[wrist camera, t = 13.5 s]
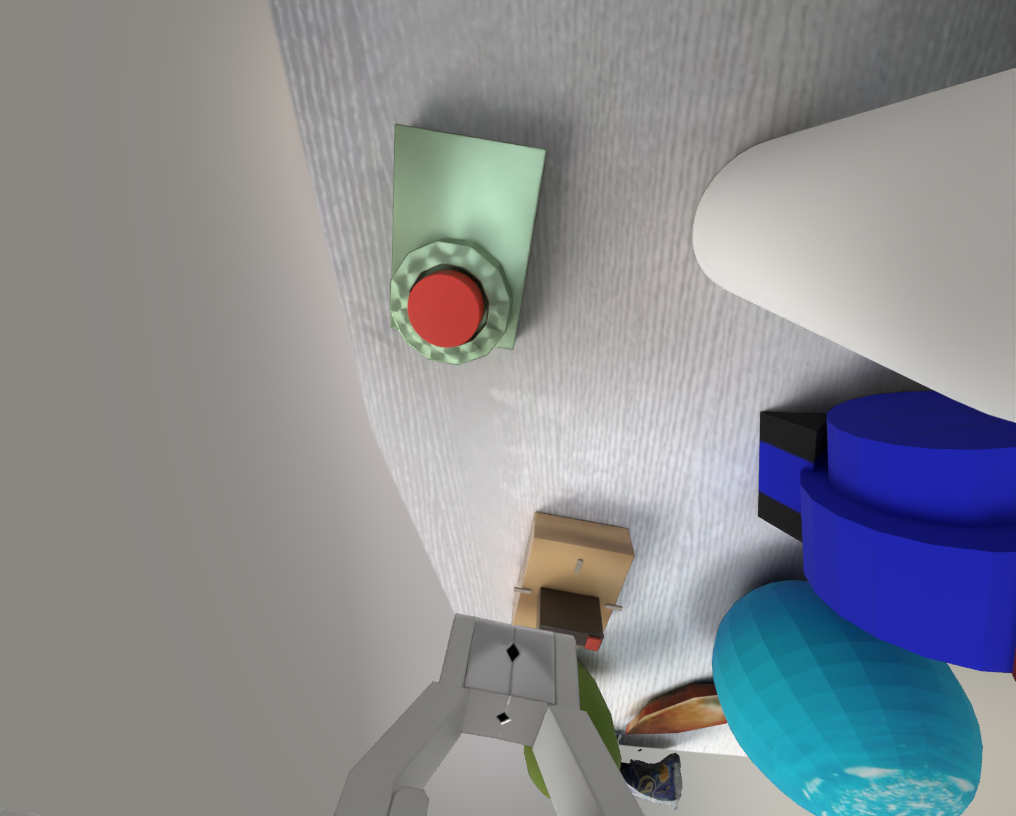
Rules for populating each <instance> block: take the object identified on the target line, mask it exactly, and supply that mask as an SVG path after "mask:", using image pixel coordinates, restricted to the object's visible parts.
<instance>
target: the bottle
mask: <svg viewBox="0 0 1016 816" xmlns="http://www.w3.org/2000/svg"><path fill="white" fill-rule="evenodd" d="M692 240H693V248H694V253H695V256H696V259H697V261H698V264H699V265H700V267H701V269H702V270H703V272H704V273H705V275H707V276H708V277H709V278H710V279H711V280H712V281H713V282H714V283H715V284H717V285H719V286H720V287H722V288H724V289H725V290H727V291H729V292H731V293H733V294H735V295H737V296H739V297H741V298H744V299H746V300H748V301H750V302H752V303H754V304H756V305H758V306H760V307H762V308H764V309H766V310H768V311H770V312H773V313H775V314H777V315H779V316H781V317H783V318H785V319H787V320H789V321H791V322H793V323H795V324H797V325H800V326H802V327H804V328H806V329H808V330H810V331H812V332H814V333H816V334H818V335H820V336H822V337H824V338H826V339H829V340H831V341H833V342H835V343H837V344H839V345H841V346H843V347H845V348H847V349H849V350H851V351H853V352H856V353H858V354H860V355H862V356H864V357H866V358H868V359H870V360H872V361H874V362H876V363H878V364H880V365H882V366H885V367H887V368H889V369H891V370H893V371H895V372H897V373H899V374H901V375H903V376H905V377H907V378H909V379H912V380H914V381H916V382H918V383H920V384H922V385H924V386H926V387H928V388H930V389H932V390H934V391H936V392H939V393H941V394H943V395H945V396H947V397H949V398H951V399H953V400H956V401H958V402H960V403H963V404H965V405H967V406H970V407H972V408H974V409H977V410H979V411H981V412H984V413H986V414H988V415H992V416H995V417H998V418H1002V419H1005V420H1008V421H1012V422H1015V423H1016V68H1013V69H1010V70H1006V71H1003V72H1000V73H996V74H993V75H989V76H986V77H983V78H979V79H976V80H972V81H969V82H965V83H962V84H959V85H955V86H952V87H948V88H945V89H942V90H938V91H935V92H931V93H928V94H925V95H921V96H918V97H914V98H911V99H908V100H904V101H901V102H897V103H894V104H891V105H887V106H884V107H880V108H877V109H874V110H870V111H867V112H863V113H860V114H856V115H853V116H850V117H846V118H843V119H839V120H836V121H833V122H829V123H826V124H822V125H819V126H816V127H812V128H809V129H805V130H802V131H799V132H795V133H792V134H788V135H785V136H782V137H778V138H775V139H772V140H769V141H766V142H764V143H761V144H758V145H755V146H753V147H751V148H750V149H748V150H746V151H744V152H743V153H741V154H739V155H738V156H737V157H735V158H734V159H733V160H732V161H730V162H729V163H728V164H727V165H726V166H724V168H723V169H722V170H721V171H720V172H719V173H718V174H717V175H716V176H715V178H714V179H713V180H712V182H711V183H710V185H709V186H708V188H707V189H706V191H705V192H704V194H703V196H702V198H701V201H700V203H699V205H698V208H697V211H696V215H695V219H694V223H693V235H692Z"/></svg>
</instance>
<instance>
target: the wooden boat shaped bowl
mask: <svg viewBox="0 0 1016 816" xmlns="http://www.w3.org/2000/svg"><path fill="white" fill-rule="evenodd" d="M725 723H727V720H726V718H725V715H724V713H723V710H722V707H721V704H720V701H719V698H718V695H717V691H716V687H715V684H690V685H687V686H685V687H683V688H680V689H678V690H676V691H673V692H671V693H669V694H666V695H664V696H662V697H659V698H657V699H655V700H652V701H650V702H649V703H648V704H647V706H646V707H645V708H644V709H643V710H642V711H641V712H640V713H639V714H638V715H637V716H636V717H635V718H634V719H633V720H632V721H631V722H630V723H629V724H628V725H627V728H626V733H625V735H628V734H662V733H680V732H685V731H690V730H695V729H700V728H705V727H710V726H715V725H720V724H725Z"/></svg>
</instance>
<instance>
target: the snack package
mask: <svg viewBox="0 0 1016 816" xmlns="http://www.w3.org/2000/svg"><path fill="white" fill-rule="evenodd" d="M615 734H616V738H617V742H618V746H619V739H620V738H621V737H622V732H621V731H619V732H615ZM639 742H641V741H639ZM622 743H623V742H622ZM641 750H642V749H640V750H638V751H641ZM680 764H681V763H680V757H679V755H677V754H676V753H674V754H670V755H668V756H667V757H666V758H664V759H663V760H662V761H660V762H658V763H655V764H651V763H650V764H648V763H645V762H642V761H639V760H634V761H633V760H632V759H631V760H630V763H622V762H621V765H620V773H621V774H622V776H623V778H624V780H625V781H626V783H627V785H628V787H629V788H630V790H631V792H632V794H633V796H634V797H637V798H640V799H643V800H647V801H650V802H653V803H658V804H670V805H671V806H673V807H675V810H677V808H678V807H677V805H678V802H679V800H680V797H681V790H682V777H681V773H680V771H681V770H680V768H681V765H680Z"/></svg>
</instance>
